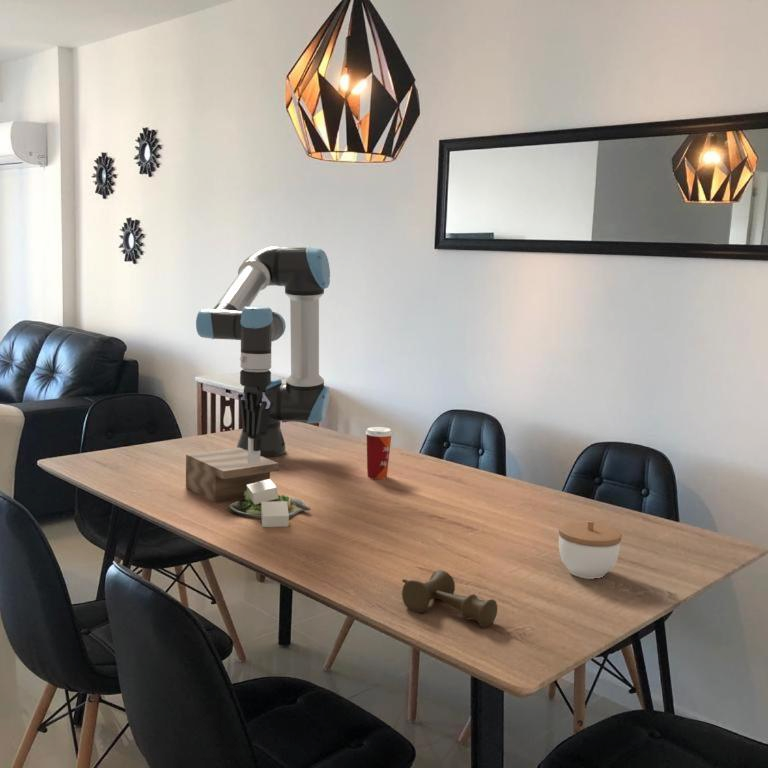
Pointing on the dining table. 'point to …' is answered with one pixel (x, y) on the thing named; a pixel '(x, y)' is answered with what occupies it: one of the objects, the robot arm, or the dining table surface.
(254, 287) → the robot arm
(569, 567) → the lidded bowl
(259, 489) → the tile
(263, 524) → the tile
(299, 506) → the salad plate
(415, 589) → the kendama
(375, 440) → the paper cup
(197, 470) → the block
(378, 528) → the dining table surface
